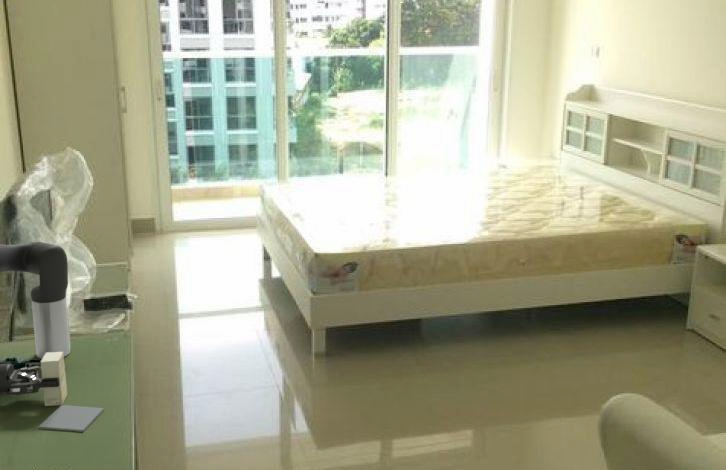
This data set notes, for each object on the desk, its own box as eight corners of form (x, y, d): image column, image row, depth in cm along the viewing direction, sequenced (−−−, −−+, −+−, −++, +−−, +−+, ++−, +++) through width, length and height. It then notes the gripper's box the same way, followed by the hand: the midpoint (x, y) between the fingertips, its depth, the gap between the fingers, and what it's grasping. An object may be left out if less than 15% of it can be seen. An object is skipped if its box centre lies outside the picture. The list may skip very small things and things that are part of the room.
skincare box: (62, 405, 188) (58, 361, 185) (43, 406, 187) (39, 362, 184) (67, 394, 194) (64, 350, 191) (49, 394, 193) (45, 351, 190)
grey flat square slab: (62, 406, 188) (61, 404, 188) (104, 409, 187) (103, 408, 187) (38, 428, 177) (38, 426, 177) (83, 431, 176) (83, 429, 176)
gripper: (-20, 378, 179) (54, 374, 182) (-1, 353, 193) (67, 351, 195) (-17, 406, 181) (56, 403, 184) (2, 380, 195) (69, 377, 197)
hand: (62, 376), depth 189 cm, fingers closed on skincare box, 6 cm apart
